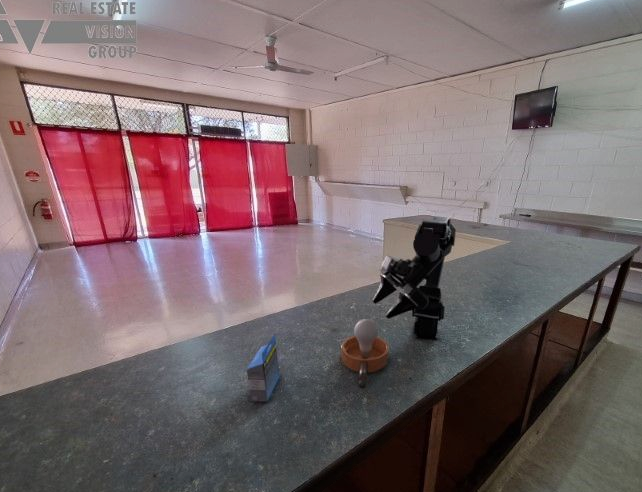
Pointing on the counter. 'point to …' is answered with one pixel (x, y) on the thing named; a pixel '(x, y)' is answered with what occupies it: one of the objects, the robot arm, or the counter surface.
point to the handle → (363, 375)
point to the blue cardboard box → (263, 372)
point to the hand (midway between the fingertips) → (379, 309)
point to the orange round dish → (375, 361)
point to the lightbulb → (366, 335)
